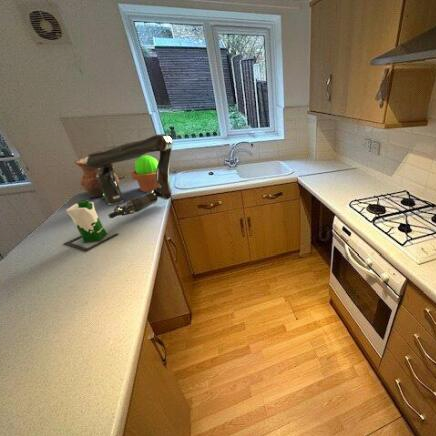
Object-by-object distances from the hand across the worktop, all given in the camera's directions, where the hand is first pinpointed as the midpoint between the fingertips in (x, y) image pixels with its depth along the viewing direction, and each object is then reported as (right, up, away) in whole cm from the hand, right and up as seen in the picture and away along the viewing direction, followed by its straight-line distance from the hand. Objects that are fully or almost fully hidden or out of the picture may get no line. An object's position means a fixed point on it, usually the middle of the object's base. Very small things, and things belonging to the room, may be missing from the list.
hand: (109, 216), depth 126 cm
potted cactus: (-8, +22, +55) cm, 60 cm away
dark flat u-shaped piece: (-4, -11, -6) cm, 13 cm away
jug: (-41, +18, +50) cm, 67 cm away
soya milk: (-3, -11, -5) cm, 13 cm away
